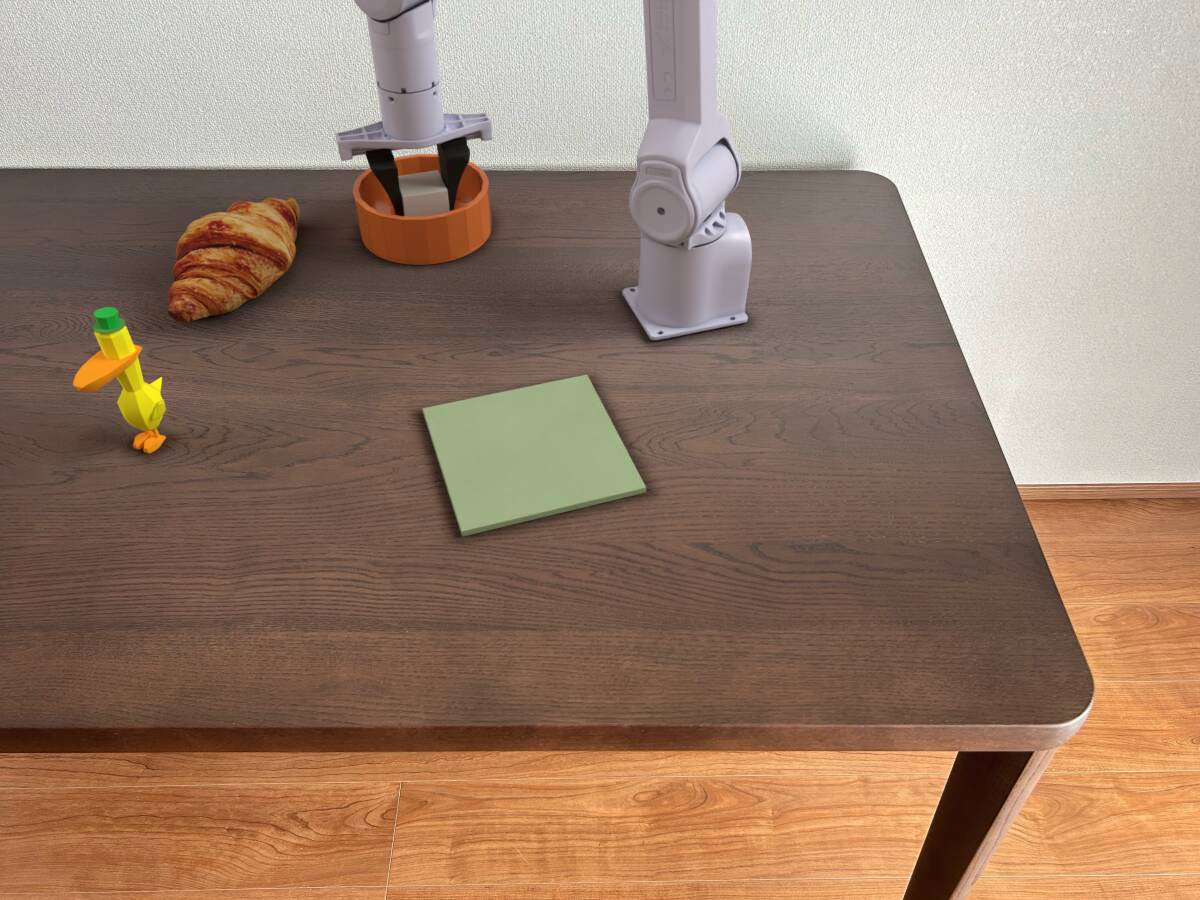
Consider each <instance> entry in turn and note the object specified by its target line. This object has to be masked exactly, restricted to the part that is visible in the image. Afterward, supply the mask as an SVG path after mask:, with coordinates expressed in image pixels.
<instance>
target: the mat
mask: <svg viewBox="0 0 1200 900" xmlns="http://www.w3.org/2000/svg"><path fill="white" fill-rule="evenodd" d="M422 414H423V418H424V420H425V424H426V427H427V430H428V433H429V436H430V440H431V442H432V446H433V449H434V452H435V456H436V458H437V462H438V465H439V468H440V471H441V474H442V477H443V480H444V484H445V487H446V490H447V493H448V496H449V500H450V504H451V506H452V509H453V512H454V515H455V518H456V522H457V525H458V529H459V531H460V535H461V538H462V537H469V536H472V535H476V534H480V533H484V532H487V531H492V530H496V529H499V528H504V527H509V526H513V525H517V524H522V523H525V522H526V523H527V522H529V521H534V520H538V519H543V518H546V517H550V516H554V515H558V514H561V513H562V514H563V513H567V512H571V511H574V510H579V509H585V508H588V507H592V506H596V505H600V504H604V503H608V502H614V501H617V500H621V499H625V498H630V497H633V496H638V495H643V494H645V493H646V492H647V486H646V484H645V483H644V481H643V479H642V477H641V475H640V472H639V471H638V469H637V467H636V466H635V463H634V462H633V460H632V458H631V455H630V454H629V451H628V450H627V448H626V447H625V444H624V442H623V440H622V438H621V436H620V435H619V433H618V431H617V429H616V427H615V425H614V423H613V421H612V419H611V418H610V416H609V414H608V412H607V410H606V407H604V404H603V402H602V400H601V397H600V396H599V395H598V393H597V391H596V389H595V387H594V384H593V383H592V381H591V379H590V377H589V376H588V374H582V375H576V376H572V377H568V378H563V379H558V380H552V381H548V382H543V383H539V384H533V385H530V386H529V385H528V386H524V387H519V388H514V389H508V390H505V391H504V390H503V391H499V392H495V393H489V394H485V395H480V396H475V397H469V398H466V399H465V398H464V399H461V400H456V401H450V402H445V403H440V404H436V405H432V406H427V407H422Z"/></svg>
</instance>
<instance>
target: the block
mask: <svg viewBox="0 0 1200 900" xmlns="http://www.w3.org/2000/svg"><path fill="white" fill-rule="evenodd" d="M398 179H399V189H400V196H401V201H402V205H403V210H404V216H430V215H436V214H443V213H446V212H449V211H450V209H449V200H448V191H447V188H446V186H445V184H444V182H443V180H442V178H441V175H440V173H439V171H438V170H435V171H429V172H422V173H415V174H408V175H401V176H398Z"/></svg>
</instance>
